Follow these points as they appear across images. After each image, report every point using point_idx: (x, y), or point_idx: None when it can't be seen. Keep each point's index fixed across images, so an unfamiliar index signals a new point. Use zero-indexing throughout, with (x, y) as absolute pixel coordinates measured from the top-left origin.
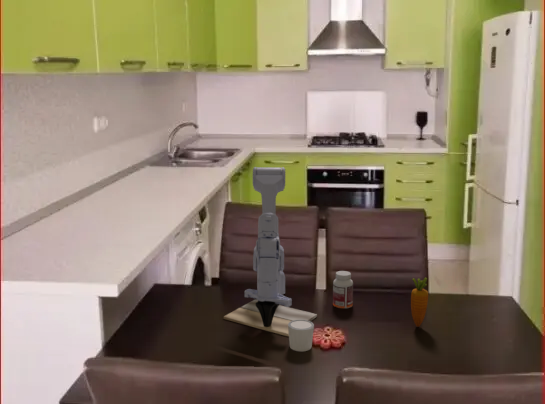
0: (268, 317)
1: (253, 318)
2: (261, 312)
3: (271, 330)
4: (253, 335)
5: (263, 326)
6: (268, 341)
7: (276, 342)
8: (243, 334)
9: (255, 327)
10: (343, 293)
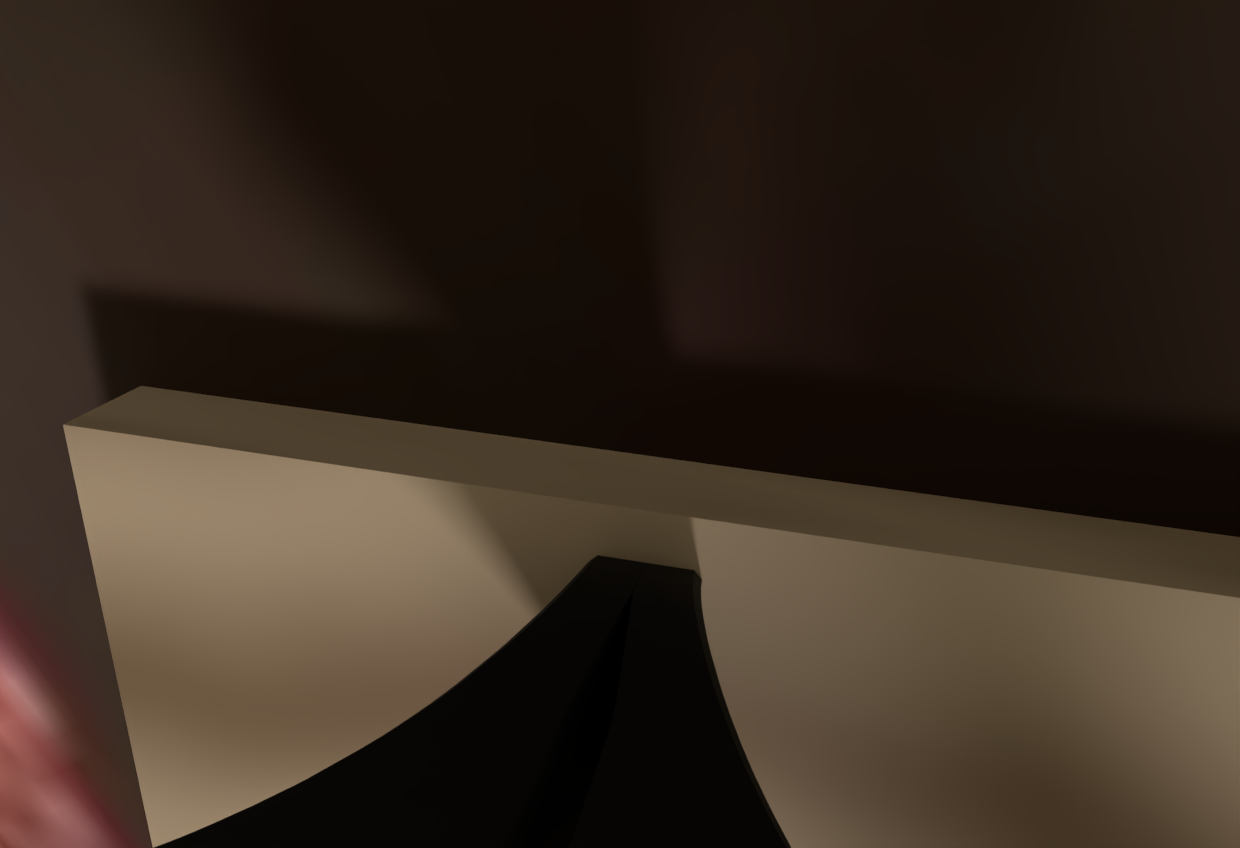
0: (454, 690)
1: (1109, 832)
2: (678, 807)
3: (464, 473)
4: (807, 218)
5: (690, 549)
6: (353, 96)
7: (200, 139)
8: (1076, 148)
9: (900, 519)
10: None
